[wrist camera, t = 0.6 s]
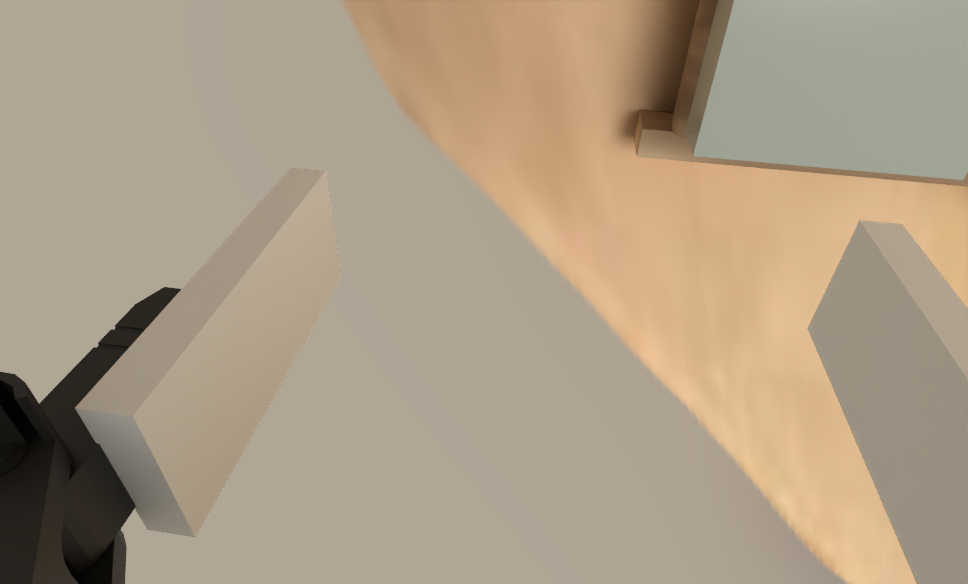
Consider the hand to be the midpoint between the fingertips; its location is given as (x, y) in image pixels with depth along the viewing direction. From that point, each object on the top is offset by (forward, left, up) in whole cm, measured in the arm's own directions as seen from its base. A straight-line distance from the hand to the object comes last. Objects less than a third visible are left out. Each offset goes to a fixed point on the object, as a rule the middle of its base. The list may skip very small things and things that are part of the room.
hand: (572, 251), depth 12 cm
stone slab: (0, +12, -20) cm, 23 cm away
